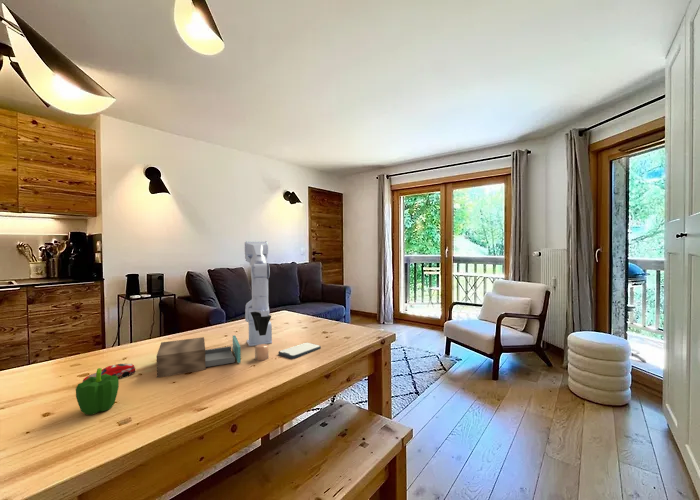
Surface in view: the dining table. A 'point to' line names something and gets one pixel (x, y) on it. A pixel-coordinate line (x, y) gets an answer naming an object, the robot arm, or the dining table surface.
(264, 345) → the brown round cylinder
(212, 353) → the drawer
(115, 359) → the dining table surface
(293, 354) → the phone case
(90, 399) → the bell pepper
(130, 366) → the race car
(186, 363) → the spice box
